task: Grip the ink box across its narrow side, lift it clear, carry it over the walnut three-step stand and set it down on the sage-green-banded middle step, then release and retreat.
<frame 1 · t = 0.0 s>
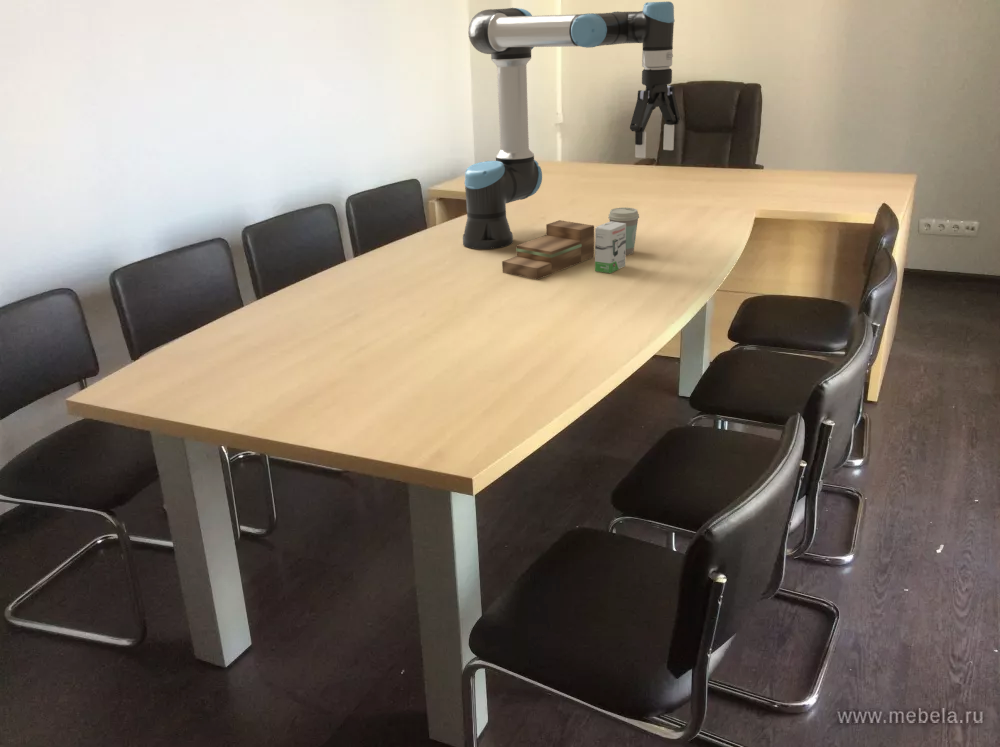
hand: (654, 153, 222), 28 cm above the table, fingers open, 13 cm apart
ink box: (610, 269, 224), on the table
coffee cup: (623, 253, 238), on the table
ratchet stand: (549, 264, 230), on the table
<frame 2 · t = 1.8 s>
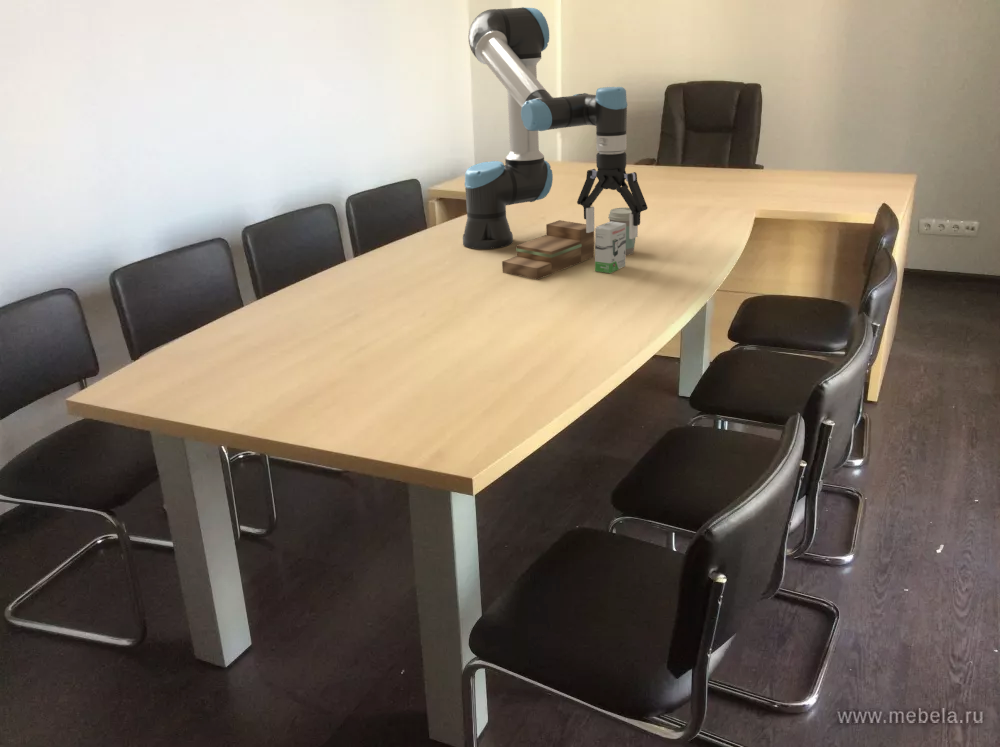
hand: (611, 234, 220), 9 cm above the table, fingers open, 13 cm apart
nothing on the table moved.
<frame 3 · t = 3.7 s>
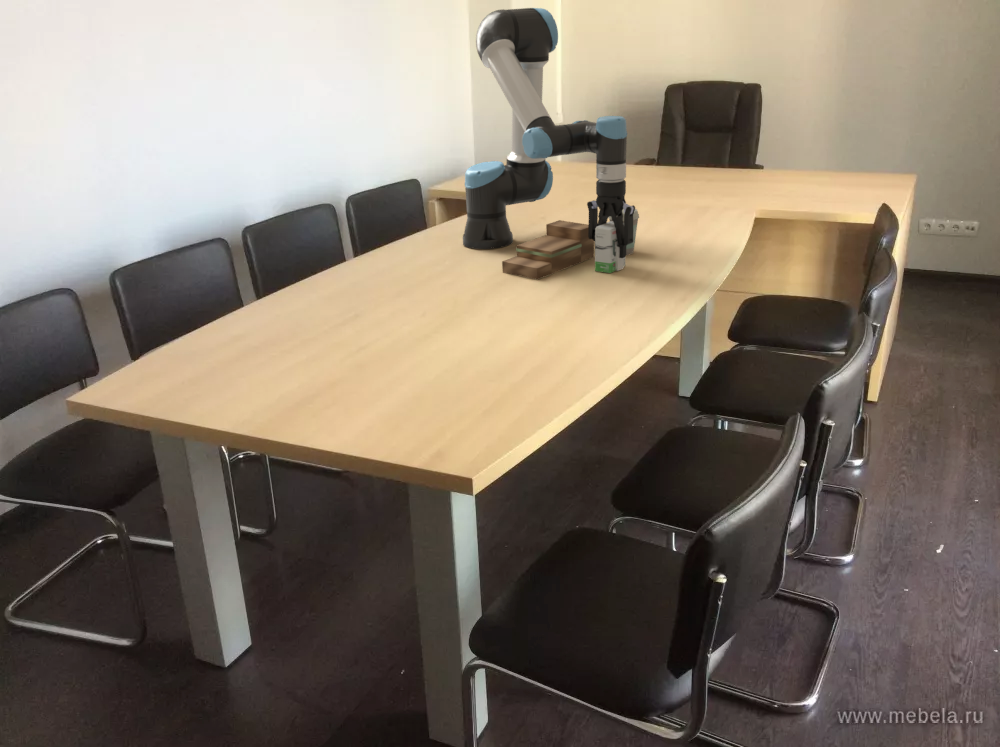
hand: (610, 267, 224), 0 cm above the table, fingers closed on ink box, 5 cm apart
ink box: (610, 269, 224), on the table, touching gripper
everything else where it was.
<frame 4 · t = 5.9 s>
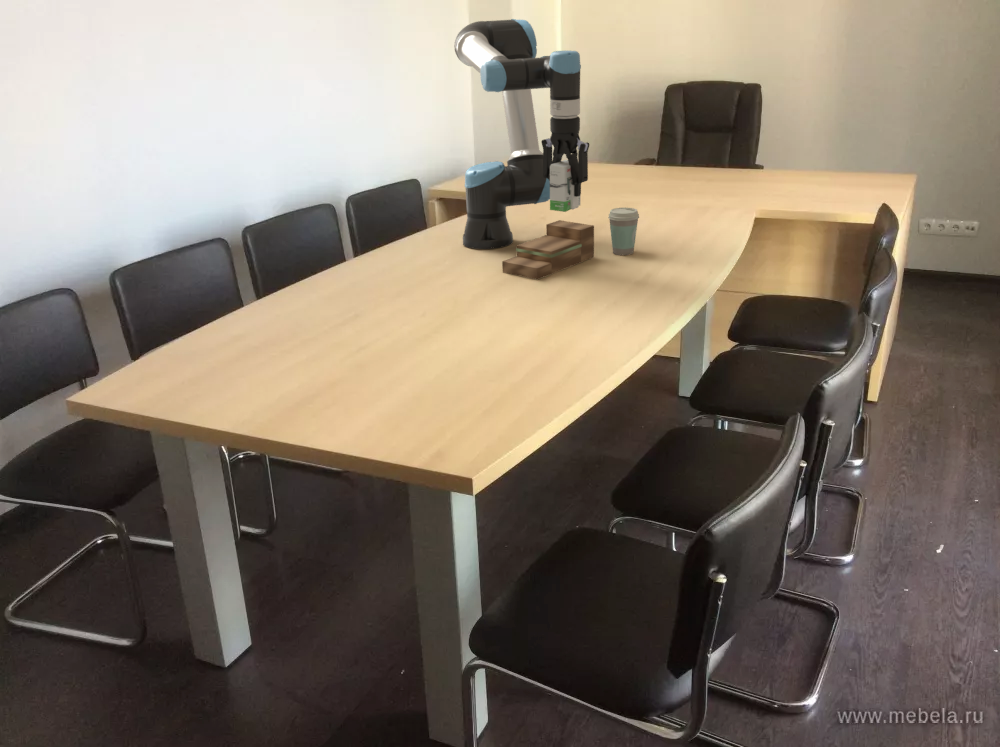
hand: (565, 206, 223), 16 cm above the table, fingers closed on ink box, 5 cm apart
ink box: (565, 208, 223), point 15 cm above the table, touching gripper
everything else where it was.
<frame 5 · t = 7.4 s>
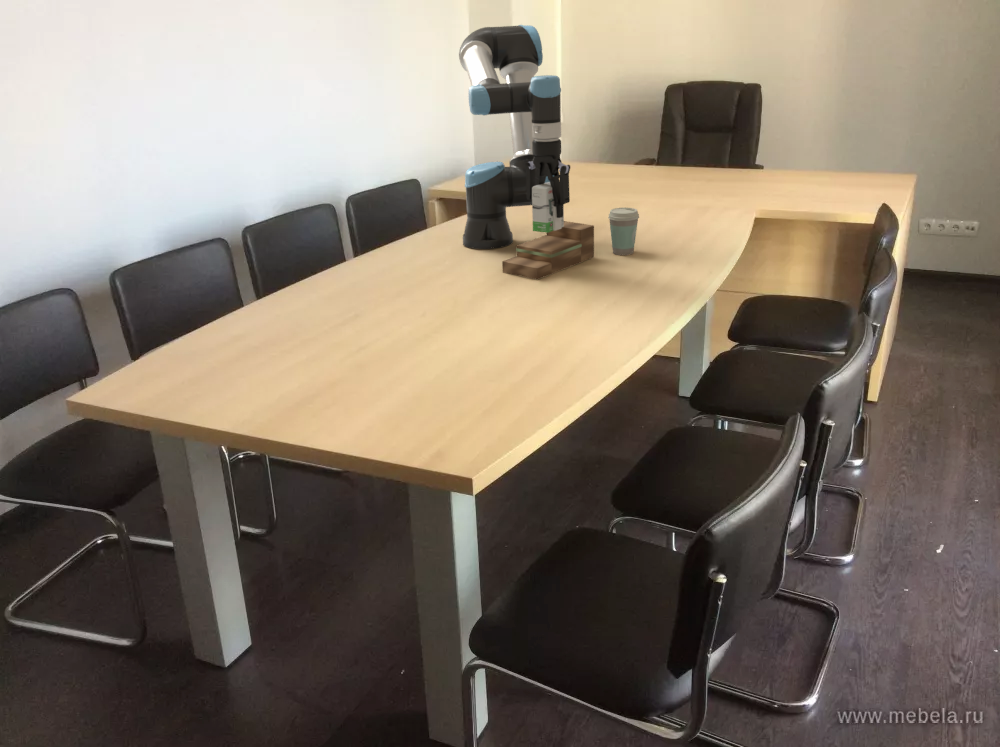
hand: (548, 227, 226), 10 cm above the table, fingers closed on ink box, 5 cm apart
ink box: (548, 229, 226), point 10 cm above the table, touching gripper
everything else where it was.
when the fingers open (8 cm above the table, at t = 8.6 s): ink box drops 1 cm, resting on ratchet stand.
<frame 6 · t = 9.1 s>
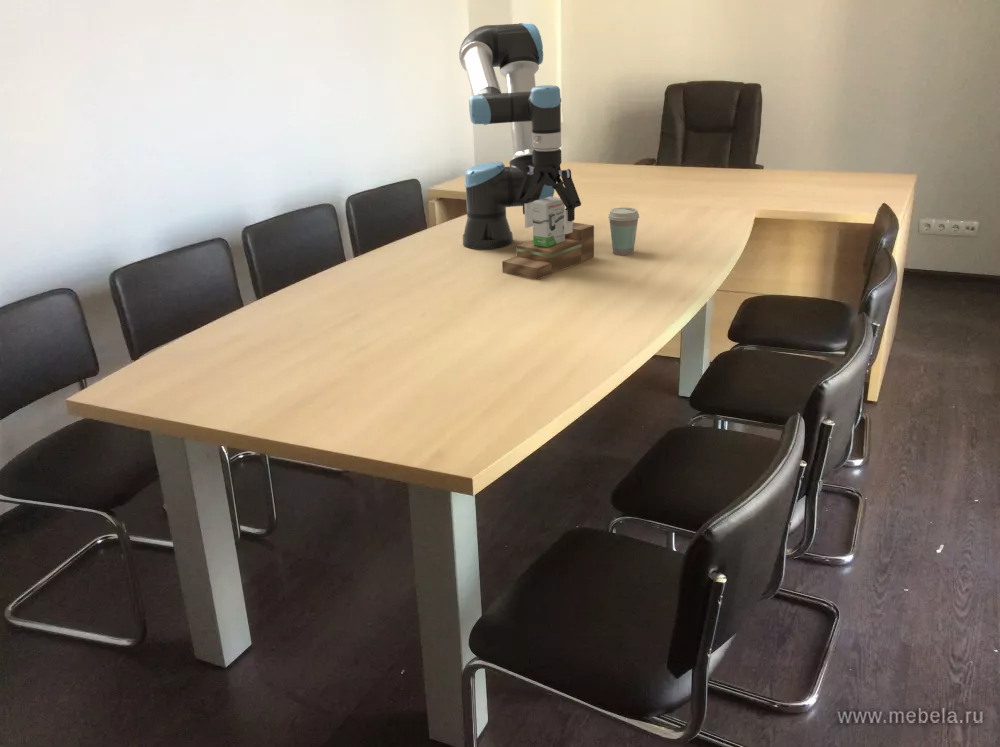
hand: (548, 229, 226), 10 cm above the table, fingers open, 13 cm apart
ink box: (549, 243, 228), point 6 cm above the table, touching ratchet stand
everything else where it was.
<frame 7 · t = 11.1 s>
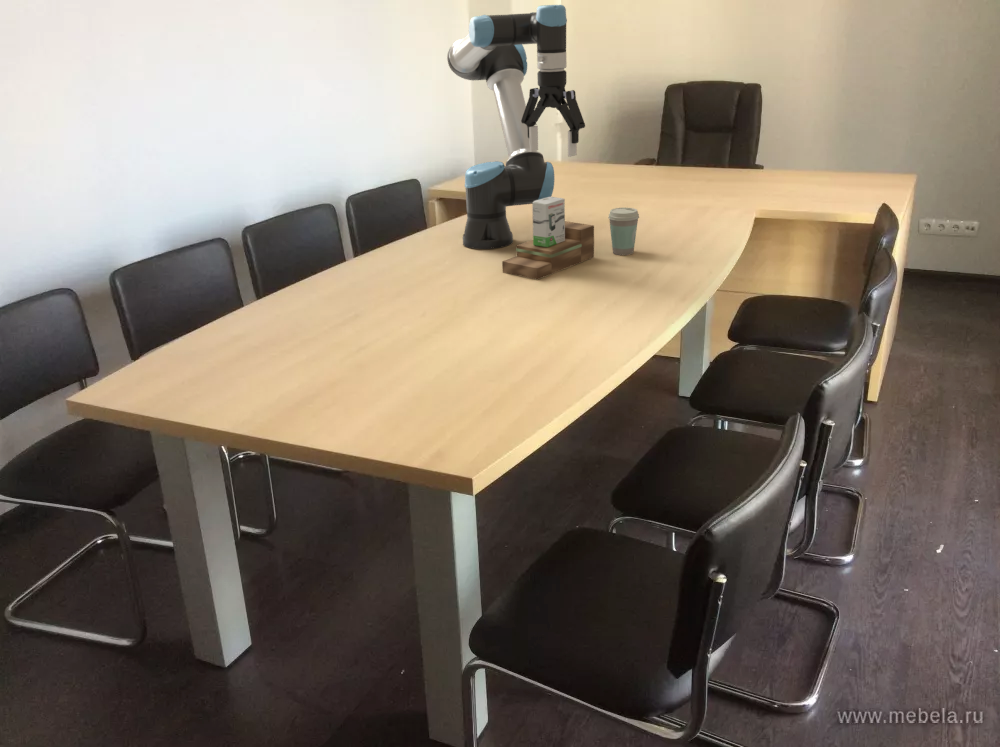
hand: (552, 153, 227), 28 cm above the table, fingers open, 13 cm apart
nothing on the table moved.
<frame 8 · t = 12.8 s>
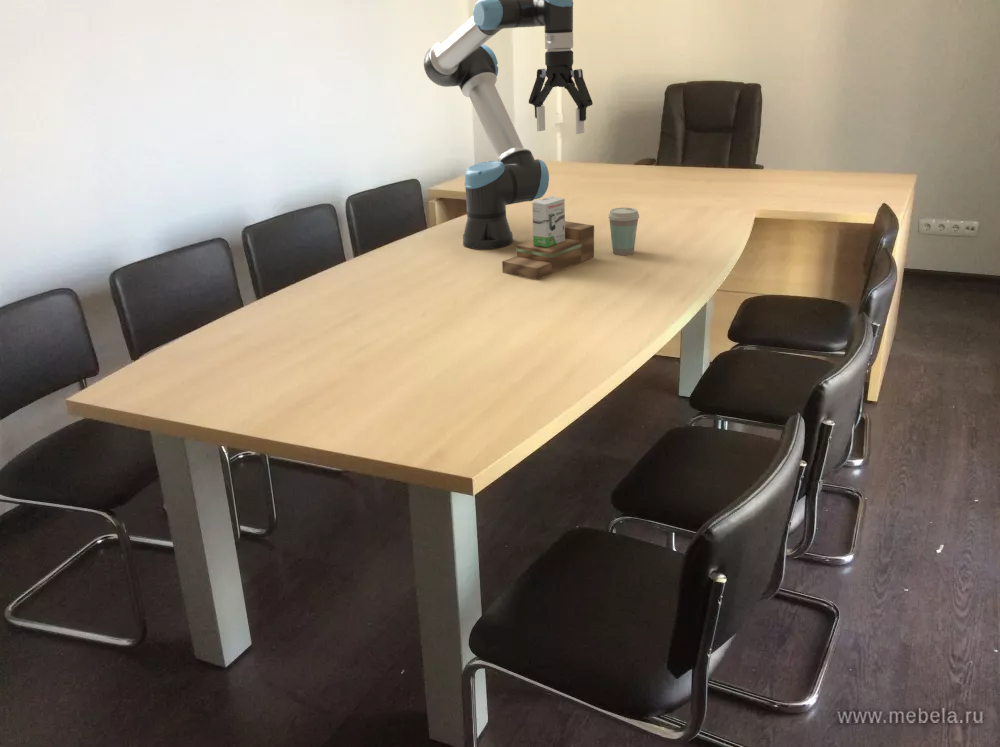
hand: (560, 132, 233), 33 cm above the table, fingers open, 13 cm apart
nothing on the table moved.
at the end: ink box inside the target area on the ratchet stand (0.2 cm from its centre), point 5.8 cm above the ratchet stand's base; ink box tilted 0°; the gripper is holding nothing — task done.
